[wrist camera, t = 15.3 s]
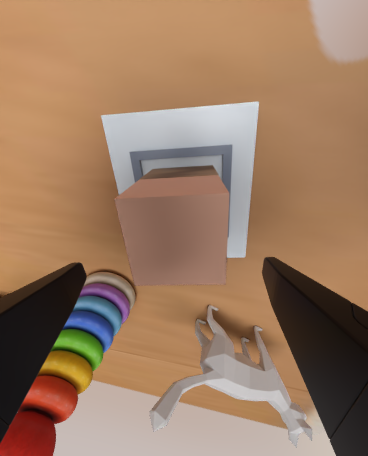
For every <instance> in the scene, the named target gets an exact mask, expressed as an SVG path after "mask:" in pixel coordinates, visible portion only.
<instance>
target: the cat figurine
mask: <svg viewBox="0 0 368 456" xmlns="http://www.w3.org/2000/svg"><path fill="white" fill-rule="evenodd" d="M211 309H214V310H216V311H218V308H216V307H214V306H211V305H209V306H208V310H207V321H208V323H209V325H210V327H211V329H212V331H213V333H214V336H213V339H212V340H211V341H210V340H209V339H208V338H207V337H206V336H205V335H204V334H203V333H202V332H201V329H200V326H199V322H200V323H202V324H204V325H205V324H206V322H204V321H202V320H200V319H197V320H196V323H195V334H196V336H197V338H198V340H199V343H200V345H201V347H202V351H201V360H200V366H201V368H202V371H203V374H202V375H196V376H190V377H186V378H184V379H181V380H179V381H176V382H174V383H173V384H172V385H171V386H170V387H169V388H168V390H167V391H166V392H165V393H164V394H163V396H162V397H161V398H160V400H159V401H158V402H157V403H156V404H155V406H154V407H153V408H152V410H151V411H150V419H151V423H152V428H153V432H154V431H156V430H158V429H161V428H163V427H165V426H166V425H167V424H168V422H169V419H170V417H171V415H172V413H173V411H174V409H175V407H176V405H177V403H178V401H179V399H180V397H181V395H182V393H184V392H186V391H188V390H189V389H191V388H193V387H196V386H199V385H202V384H206V385H208V386H210V387H212V388H214V389H216V390H219V391H221V392H224V393H226V394H228V395H230V396H232V397H234V398H236V399H242V400H250V401H268V402H269V403H270V404H271V405H272V406H273V407H274V408H275V409H276V410H277V411H278V412H279V413H280V414H281V417H282V420H283V421H284V422H285V423H286V425H287V428H288V433H289V440H290V441H291V442H292V443H293V444H294V446H295V447H297V441H298V436H299V434H300V433H303V432H305V433H306V434H307V435H308V437H309V438H310V439H311V441H312V428H311V427H310V426H309V425H308V424H307V423H306V422H305V420H306V419H307V417H306V415H305V413H304V412H303V410H302V409H301V407H300V406H299V405H297V404H296V403H292V402H291V400H290V397H289V395H288V392H287V390H286V388H285V386H284V384H283V382H282V380H281V378H280V376H279V374H278V371H277V369H276V367H275V365H274V363H273V362H272V360H271V358H270V356H269V354H268V352H267V349H266V347H265V345H264V343H263V341H262V339H261V337H260V335H259V332H258V331H261V330H262V328H260V327H257V326H254V332H255V337H256V343H257V347H258V349H259V351H260V364H256V363H255V362H253V361H252V360H251V357H250V354H249V352H248V349H247V347H246V344H245V342H249V339H246V338H244V337H242V338H241V344H242V352H243V354H242V353H234V346H233V342H232V341H231V339H230V338H229V336H228V335H227V334H226V332H225V331H224V329H223V328H222V327H221V326H220V325H219V324H218V323H217V322H216V321H215V320H214V319H213V316H212V310H211Z"/></svg>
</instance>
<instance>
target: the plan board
mask: <svg viewBox="0 0 368 456" xmlns="http://www.w3.org/2000/svg"><path fill="white" fill-rule="evenodd" d="M258 108H259V102H247V103H236V104H225V105H214V106H202V107H191V108H180V109H168V110H157V111H146V112H135V113H123V114H112V115H101V118H102V122H103V127H104V131H105V135H106V140H107V144H108V149H109V153H110V158H111V162H112V166H113V171H114V175H115V180H116V184H117V189H118V193H119V195H120V194H121V193H123V192H124V191H125V190H126V189H128V188H129V187H130V186H132V185H133V184H134V183H136V182H137V181H138V180H139V179H140V178H141V177H143V176H144V175H145V174H147V173H148V172H149V171H151V170H152V169H158V168H175V167H191V166H207V165H213V166H214V168H215V170H216V171H217V173H218V174H219V177H220V179H221V180H222V182H223V184H224V185H225V187H226V188H227V190H228V192H229V216H228V240H227V258H236V257H245V255H246V243H247V232H248V221H249V209H250V198H251V187H252V176H253V164H254V153H255V142H256V130H257V119H258Z"/></svg>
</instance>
